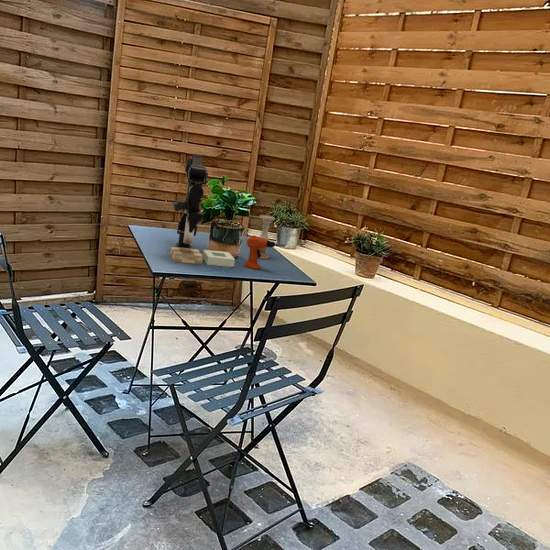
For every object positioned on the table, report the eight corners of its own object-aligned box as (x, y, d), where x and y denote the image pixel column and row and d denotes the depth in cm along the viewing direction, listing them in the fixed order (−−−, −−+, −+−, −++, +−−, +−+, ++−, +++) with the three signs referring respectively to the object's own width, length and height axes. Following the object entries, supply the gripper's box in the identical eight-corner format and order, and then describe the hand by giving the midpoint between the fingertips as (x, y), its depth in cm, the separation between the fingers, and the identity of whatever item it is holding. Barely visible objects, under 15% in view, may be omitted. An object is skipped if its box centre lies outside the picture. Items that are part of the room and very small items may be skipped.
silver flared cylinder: (182, 241, 237) (185, 216, 235) (191, 242, 239) (195, 217, 236) (184, 243, 234) (187, 218, 231) (193, 244, 235) (196, 219, 232)
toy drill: (281, 273, 237) (283, 239, 234) (242, 268, 244) (243, 235, 241) (285, 272, 242) (287, 238, 239) (247, 266, 249) (248, 233, 245)
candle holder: (248, 254, 269) (255, 213, 264) (264, 254, 273) (271, 215, 268) (256, 259, 262) (263, 217, 256) (272, 259, 266) (279, 219, 261)
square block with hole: (202, 257, 247) (203, 249, 246) (227, 259, 251) (228, 252, 250) (207, 264, 236) (208, 256, 235) (233, 267, 240) (235, 259, 239)
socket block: (169, 254, 242) (170, 246, 241) (196, 256, 246) (197, 249, 245) (173, 261, 231) (174, 253, 230) (201, 264, 235) (202, 256, 234)
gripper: (172, 189, 237) (167, 224, 241) (178, 197, 220) (173, 234, 224) (197, 193, 240) (192, 227, 244) (205, 200, 224) (200, 237, 228)
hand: (189, 231), depth 235 cm, fingers closed on silver flared cylinder, 4 cm apart
